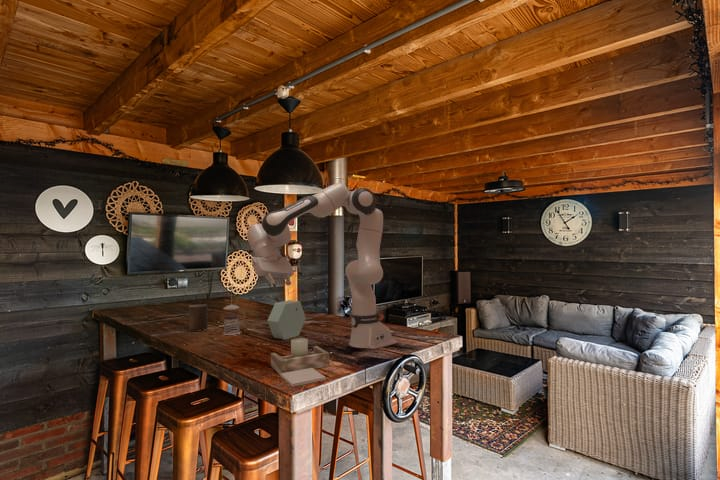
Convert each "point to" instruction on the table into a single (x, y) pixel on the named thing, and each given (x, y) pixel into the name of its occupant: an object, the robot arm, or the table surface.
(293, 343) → the sage green rounded cylinder
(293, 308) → the grey-green faceted block
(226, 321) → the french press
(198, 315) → the pillar candle
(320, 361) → the frame
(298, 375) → the concrete tile
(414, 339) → the table surface
